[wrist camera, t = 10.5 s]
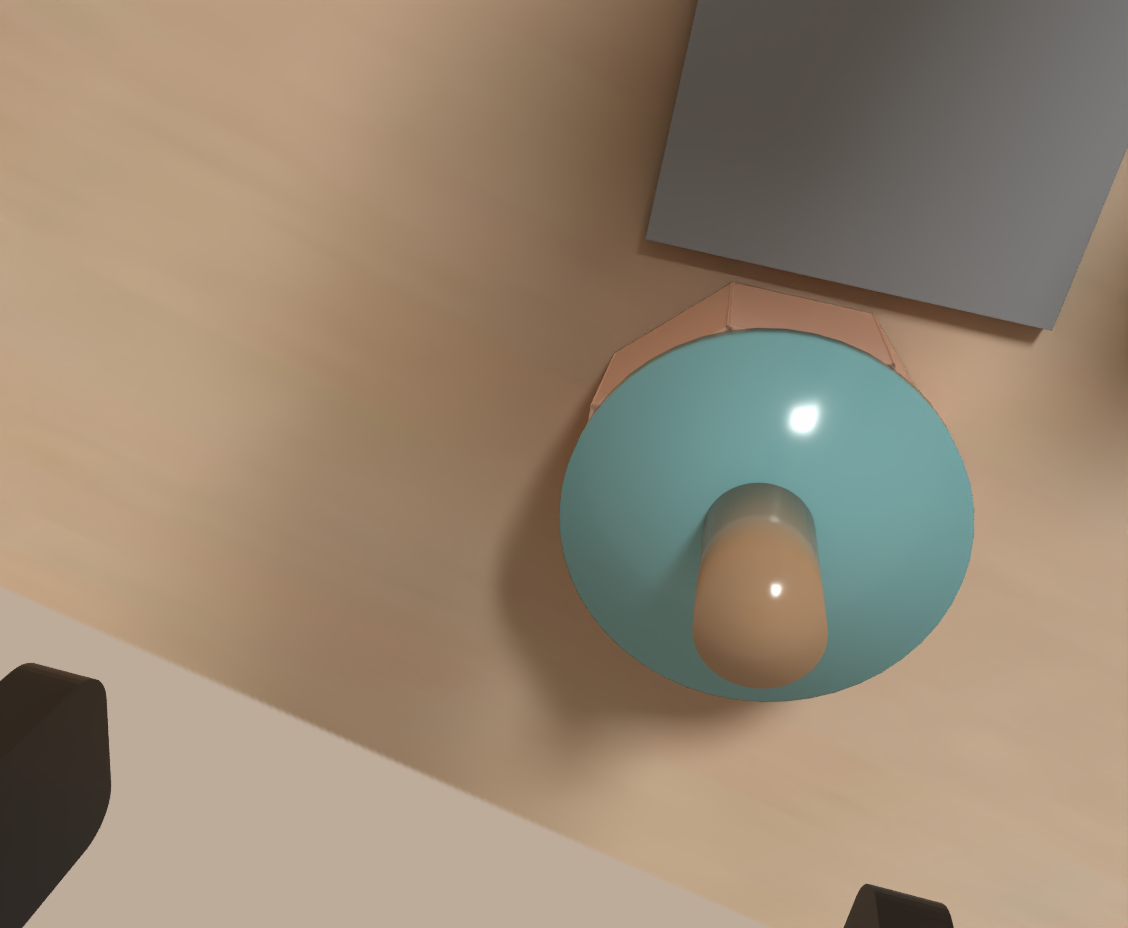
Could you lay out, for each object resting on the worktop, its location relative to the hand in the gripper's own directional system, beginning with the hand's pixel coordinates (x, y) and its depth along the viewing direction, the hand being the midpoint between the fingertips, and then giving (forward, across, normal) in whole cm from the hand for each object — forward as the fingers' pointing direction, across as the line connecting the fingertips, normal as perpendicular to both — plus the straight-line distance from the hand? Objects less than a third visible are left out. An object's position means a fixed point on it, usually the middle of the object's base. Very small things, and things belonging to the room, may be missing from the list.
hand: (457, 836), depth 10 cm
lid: (+18, -4, +4) cm, 19 cm away
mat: (+23, -5, -8) cm, 25 cm away
